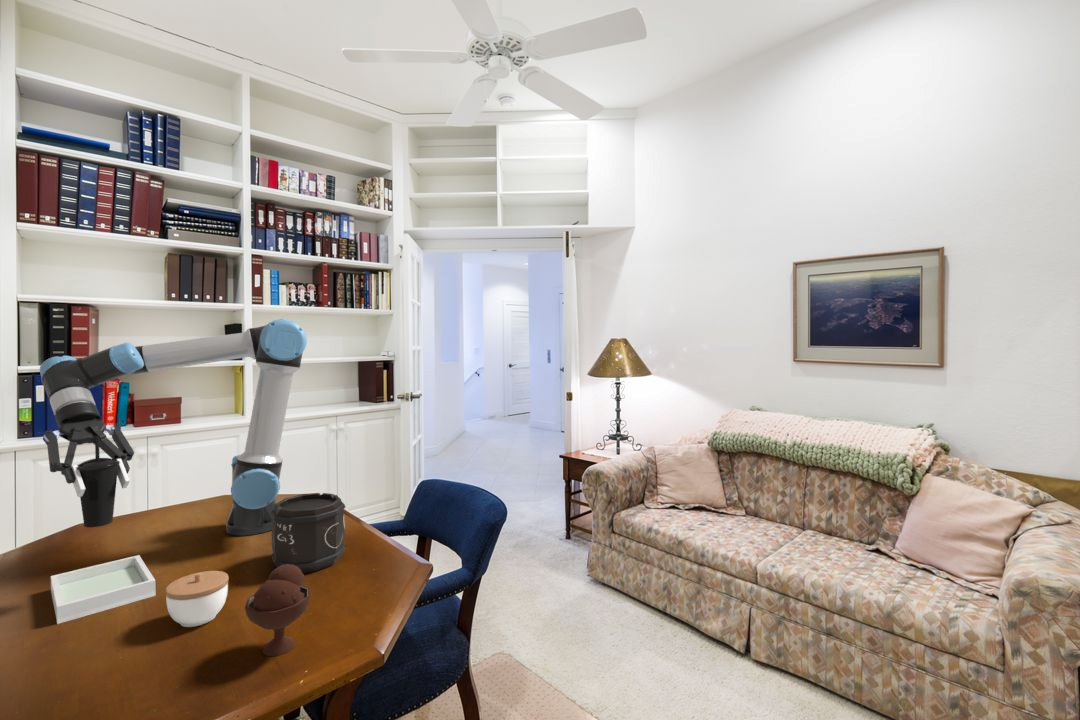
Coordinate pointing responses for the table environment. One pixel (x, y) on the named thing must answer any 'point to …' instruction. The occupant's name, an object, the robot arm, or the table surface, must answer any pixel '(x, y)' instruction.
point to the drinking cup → (98, 489)
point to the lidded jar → (197, 597)
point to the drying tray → (100, 588)
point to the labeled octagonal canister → (308, 531)
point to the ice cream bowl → (279, 606)
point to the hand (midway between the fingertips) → (104, 488)
